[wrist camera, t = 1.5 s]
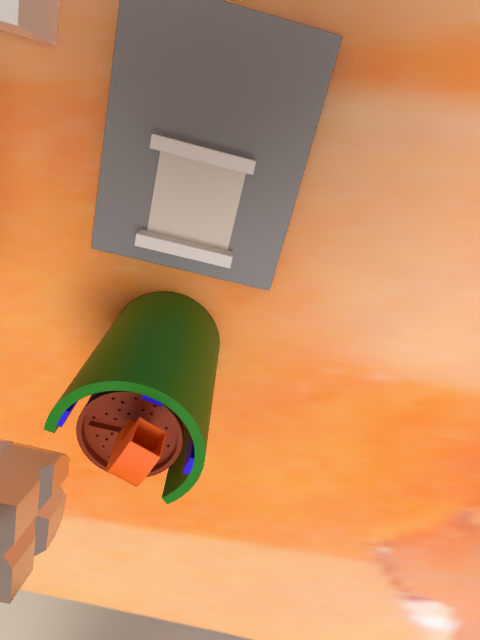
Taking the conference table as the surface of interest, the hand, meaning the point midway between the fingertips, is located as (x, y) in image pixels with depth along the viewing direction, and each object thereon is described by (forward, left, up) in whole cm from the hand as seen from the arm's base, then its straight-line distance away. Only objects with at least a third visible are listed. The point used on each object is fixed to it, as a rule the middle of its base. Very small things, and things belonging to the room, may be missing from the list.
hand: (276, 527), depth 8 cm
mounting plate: (-5, -5, -32) cm, 32 cm away
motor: (+12, -5, -32) cm, 34 cm away
